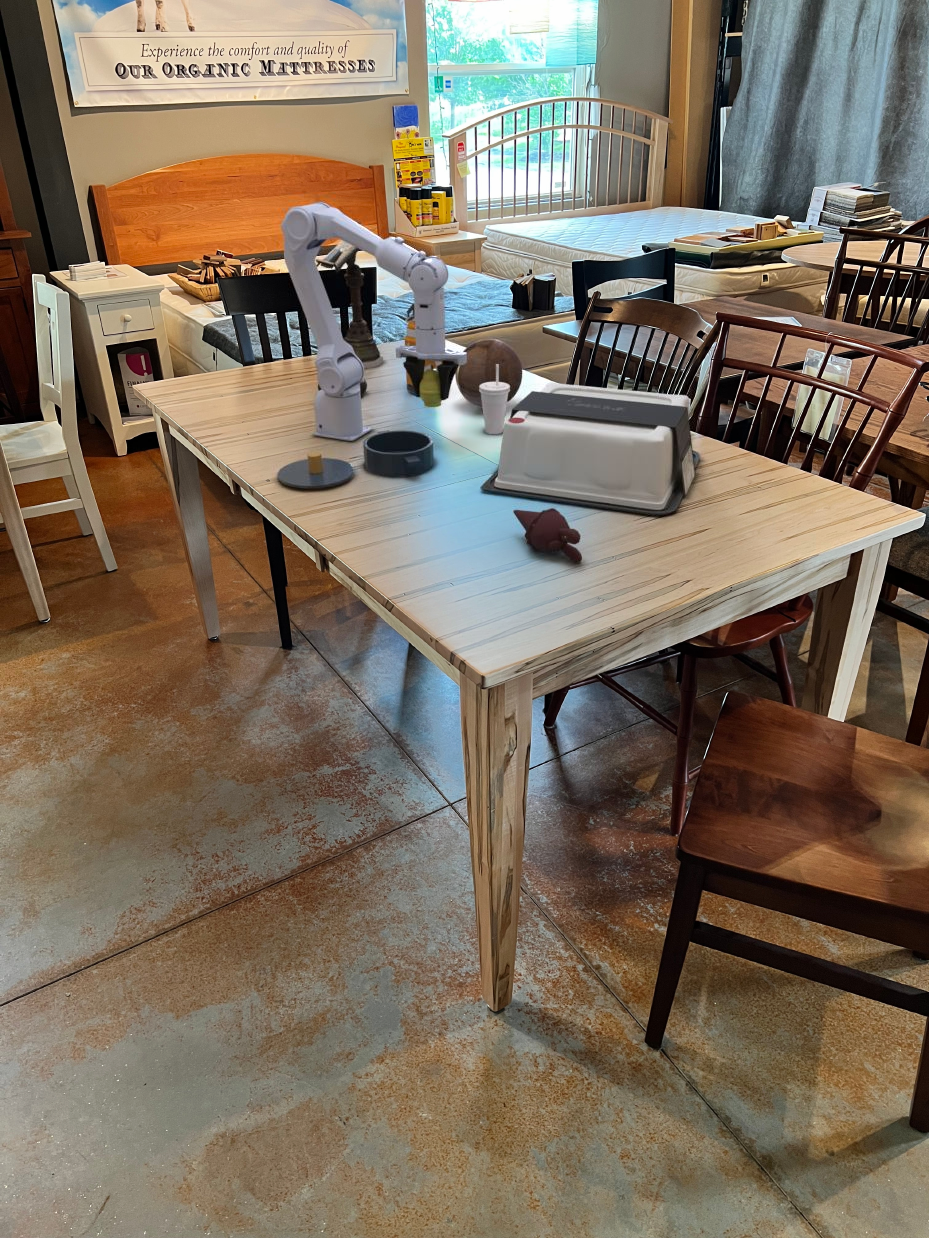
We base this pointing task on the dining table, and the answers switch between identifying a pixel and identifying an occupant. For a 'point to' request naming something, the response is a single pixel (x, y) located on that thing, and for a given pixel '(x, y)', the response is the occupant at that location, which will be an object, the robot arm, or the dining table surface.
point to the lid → (315, 472)
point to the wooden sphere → (488, 369)
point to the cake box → (598, 449)
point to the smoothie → (494, 404)
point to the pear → (430, 388)
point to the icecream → (549, 532)
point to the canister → (411, 341)
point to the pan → (398, 453)
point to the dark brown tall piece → (354, 303)
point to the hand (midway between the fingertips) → (432, 397)
